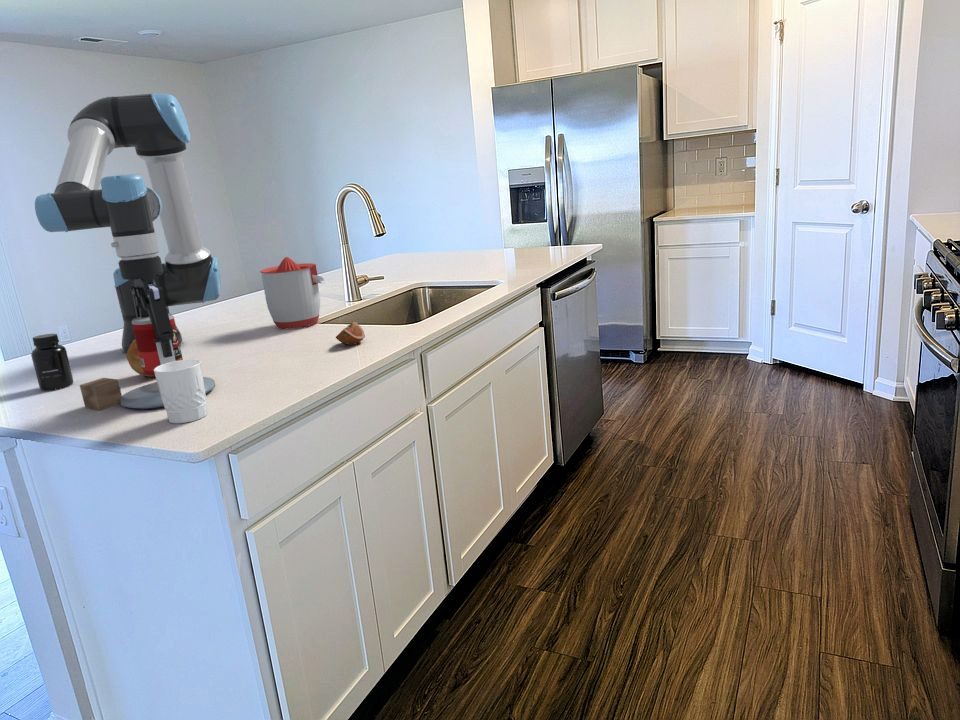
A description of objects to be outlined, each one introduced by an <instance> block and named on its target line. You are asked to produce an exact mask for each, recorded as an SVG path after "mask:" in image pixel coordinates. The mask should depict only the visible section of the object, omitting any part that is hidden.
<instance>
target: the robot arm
mask: <svg viewBox="0 0 960 720" xmlns="http://www.w3.org/2000/svg"><path fill="white" fill-rule="evenodd" d="M191 138H192V137H191V133H190V128H189V125H188V122H187V119H186V116H185V114H184V111H183V108H182V107H181V104H180V102H179V101H178V99H177V97H176V96H174V95H172V94H169V93H155V92H154V93H144V94H143V93H142V94H133V95H132V94H131V95H122V96H119V95H118V96H106V97H102V98H99V99H97V100H94V101H92V102H91V103H89V104H87V105H86V106H84V108H82V109H81V110H79V112H78V113H77V114H75V116H74V117H73V119H72V120H71V122H70V124H69V127H68V128H67V139H68V143H69V144H68V147H67V149H66V154H65V157H64V160H63V164H62V165H61V166H62V167H61V170H60V172H59V173H60V174H59V176H58V179H57V183H56V186H55V189H54V191H53V193H51V192H47V193H44V194H39V195H37V196H36V198H35V200H34V211H35V215H36V218H37V221H38V223H39V225H40V226H41V228H42V229H43V230H44V231H47V232H49V233H58V232H65V233H68V232H74V231H80V230H81V231H83V230H92V229H101V228H110V230H111V232H110V233H111V235H112V238H113V242H111V244H110V245H111V248H114V249H115V253H116V256H117V258H120V260H119V261H118V262H117V264H118V267H117V268H116V269H115V270H114V272H113V280H114V288H115V291H116V295H117V299H118V304H119V308H120V313H121V317H122V320H123V327H122V328H123V329H122V337H121V348H122V352H123V353H125V354H127V352H128V349H129V347H130V345H131V344H132V342H133V341H134V340H135V336H134V332H133V327H132V320H133V319H135V318H138V317H142V318H143V317H149V318H150V320H151V322H152V326H153V330H154V333H155V336H156V339H154V340H153V342H154V343H156V346H157V351H158V355H159V360H160V364H161V365H163V364H166V363H169V362H174V361H176V360H175V356H174V351H173V346H172V342H171V338H173V337H174V334H173V331H172V327H171V323H170V319H169V316H168V313H170V308H169V307H175V306H182V305H183V306H184V305H192V304H197V303H198V304H201V303H202V304H204V303H206V302H211V301H216V300H217V299H219V298H220V296H221V267H220V261H219V258H218V257H215V256H212V254H211V250H209V248H207V247H205V246H204V245H203V241H202V240H203V239H202V237H201V236H202V235H201V233H200V227H199V224H198V219H197V215H196V211H195V207H194V203H193V198H192V194H191V189H190V185H189V181H188V177H187V173H186V168H185V165H184V161H183V156H184V154H186V152H187V144H188V143H190V142H191V140H192V139H191ZM119 148H134V149H135V153H136V156H137V157H139V158H140V159H142V160H143V161H144V162H145V164H146V168H147V169H146V170H147V173H148V177H149V180H150V183H151V187H152V188H149V187H148V186H146V184H145V181H144V178H143V176H142V175H140V174H137V173H135V174H132V173H131V174H119V175H109V176H103V173H104V169H105V164H106V161H107V157H108V156H109V155H110V154H111V153H112V152H113V151H114V149H119ZM100 185H101V186H100ZM158 218H160V222H161V226H162V229H163V234H164V238H165V241H166V242H165V243H166V245H167V249H168V252H167V253H166V255H165V256H164V261H165V262H164V263H162V260H161V256H159V255H157V254H159V253H160V248H159V243H158V239H157V234H156V231H155V227H154V221H155V220H156V219H158ZM176 329H177V334H178V338H179V343H181V342H182V341H183V337H182V333H181V332H180V330H179V328H178V327H177V325H176ZM164 332H165V333H164ZM182 343H183V342H182ZM182 343H181V344H182Z"/></svg>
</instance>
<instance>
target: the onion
mask: <svg viewBox="0 0 960 720" xmlns="http://www.w3.org/2000/svg"><path fill="white" fill-rule="evenodd" d="M126 360H127V362H128V365H129V366H130V368H131V369H132V370H133V371H134V372H135V373H137V374H138V375H140V376H145V377H149V378H156V377H155V375H147V374H145V373H144V372H143V370H142V366H141V361H140V357H139V353H138V349H137V344H136V340H134V341H133V342H132V344H131V345H130V347H129V349H128V352H127V353H126Z"/></svg>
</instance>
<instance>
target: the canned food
mask: <svg viewBox="0 0 960 720" xmlns="http://www.w3.org/2000/svg"><path fill="white" fill-rule="evenodd" d="M168 316H169V319H170V323H171V327H172V331H173V334H174V337H173V338H171V342H172V346H173V351H174V356H175V360H176V361H179V360H184V358H183V354H182V353H183V352H182V349H181V344H180V343H179V338H178V334H177V329H176V326H177V324H176V320H175V316H174V314H173V313H170V312H169V313H168ZM132 327H133V332H134V336H135V340H136V344H137V349H138V353H139V357H140V361H141V366H142V370H143V372H144V373H145V374H147V375H155V373H154V369H155V368H156V367H158V366H160V365H161V364H160V360H159V355H158V351H157V346H156V343H154V342H153V340H154V339H156V336H155V333H154V330H153V326H152V322H151V320H150V318H149V317H143V318H142V317H138V318H135V319H133V320H132ZM164 333H165V332H164Z"/></svg>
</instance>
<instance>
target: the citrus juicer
mask: <svg viewBox="0 0 960 720" xmlns="http://www.w3.org/2000/svg"><path fill="white" fill-rule="evenodd" d="M259 272H260V273H261V278H262V285H263V290H264V296H265V302H266V306H267V309H268V312H269V314H270V316H271V319H272V322H273V323H274V325H275V327H276V328H278V329H280V330H282V329H283V330H288V329H289V330H290V329H298V328H302V329H304V327H306V328H309V327H310V326H312V325H315V324H317V323H318V321H319V317H320V312H321V311H320V309H321V298H320V297H321V295H320V289H319V284H325V280H324V277H323V276H320V275H318V270H317V264H316V263H309V262H308V263H296V262H295V261H294V260H293V259H292V258H290V257H288V256H285V257H284V258H283V259H282V261H280V262H279V265H278V266H272V267H268V268H267V267H266V268H263V269H261V270H260V271H259Z"/></svg>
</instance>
